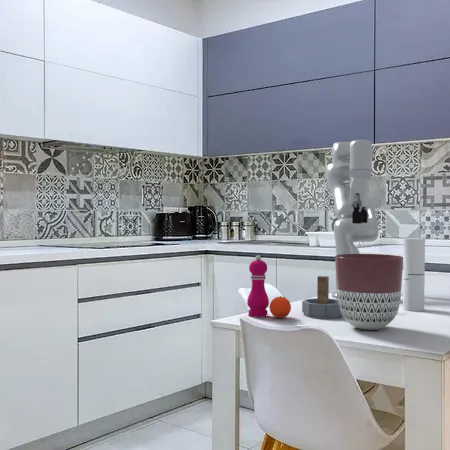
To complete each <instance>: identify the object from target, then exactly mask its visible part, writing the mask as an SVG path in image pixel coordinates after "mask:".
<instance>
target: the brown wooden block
mask: <svg viewBox="0 0 450 450" xmlns="http://www.w3.org/2000/svg"><path fill="white" fill-rule="evenodd" d="M329 277H330V276H328V275H318V276H317V280H316V281H317V284H316V285H317V286H316V287H317V289H316V293H317V296H316V298H317V304H328V302H329V299H330V298H329V292H330V291H329V288H330V287H329V286H330V284H329V281H330V279H329Z"/></svg>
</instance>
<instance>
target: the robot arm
mask: <svg viewBox="0 0 450 450" xmlns="http://www.w3.org/2000/svg"><path fill="white" fill-rule="evenodd" d="M331 147H332V148H331V159H332V161H333V162H331V163H329V164H328V165H327V167H326V170H325V174H326V175H325V177H326V181H327V182H326V183H327V185H328V188H329V190H330V192H331V193H332V194H331V195H332V196H333V203H334V205H333V206H334V212H335V217H336V218H337V220H336V221H335V222H334V225H333V234H334V241H335V256H336V255H341V254H361V253H360V250H359V248H357V246H356V245H355V243H362V242H363V243H369V242H370V243H371V242H375V241H376V240H377V239H378V237H379V231H380V230H379V223H378V219H377V213H376V207H375V205H374V204H375V203H374V202H373V201H372V200H371V199H369V198H370V197H369V195H370V194H369V193H370V192H369V189H370V188H369V180H372V160H373V154H374V149H373V145H372V141H370V140H369V139H356V140H355V139H354V140H352V141H337V142H334V143H333V145H332V146H331ZM345 182H350V186H349V185H348V184H347V183H345ZM331 296H332V297H333V298H337V287H336V286H335V291H333V292H331Z"/></svg>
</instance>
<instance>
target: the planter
mask: <svg viewBox="0 0 450 450" xmlns="http://www.w3.org/2000/svg"><path fill="white" fill-rule="evenodd" d="M403 258H404V256H401V255H395V254H394V255H393V254H382V253H360V254H341V255H336V254H335V256H334V259H335V260H334V261H335V262H334V263H335V288H336V287H337V297H336V299H337V301H338V306H339V309H340V312H341V314H342V317H343V319H345V321H346V322H347V323H349V325H351V326H353V328H357V329H359V330H366V331H375V330H381V329H383V328H386V326H388V325H390V324H391V323H392V321H394V319H395V318H396V317H397V314H398V312H399V309H400V305H401V297H402V288H403V284H402V283H403Z"/></svg>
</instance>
